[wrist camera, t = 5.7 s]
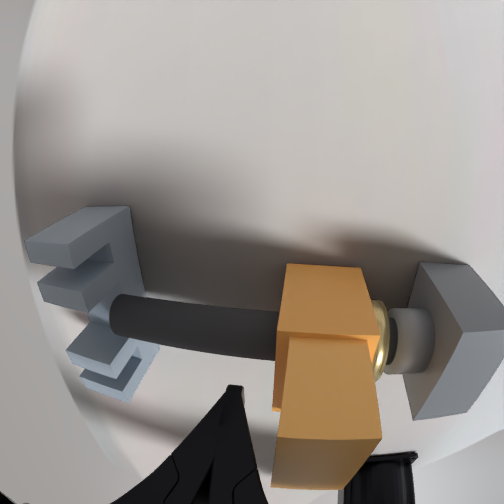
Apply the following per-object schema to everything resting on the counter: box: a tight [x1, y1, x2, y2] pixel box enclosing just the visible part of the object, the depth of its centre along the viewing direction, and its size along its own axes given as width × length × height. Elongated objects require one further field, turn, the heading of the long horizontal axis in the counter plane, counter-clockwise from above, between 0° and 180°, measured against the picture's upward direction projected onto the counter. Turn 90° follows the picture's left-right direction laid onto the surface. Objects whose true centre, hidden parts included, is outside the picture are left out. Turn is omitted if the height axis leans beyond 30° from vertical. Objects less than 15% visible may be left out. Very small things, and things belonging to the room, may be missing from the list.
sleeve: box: [270, 263, 382, 490], centre depth 10 cm, size 3×4×8 cm
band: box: [371, 300, 390, 382], centre depth 11 cm, size 1×3×3 cm, turn 1°
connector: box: [383, 262, 504, 421], centre depth 10 cm, size 4×5×5 cm
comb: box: [24, 206, 160, 403], centre depth 13 cm, size 3×9×4 cm, turn 1°
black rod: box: [109, 294, 398, 365], centre depth 11 cm, size 14×2×2 cm, turn 91°
